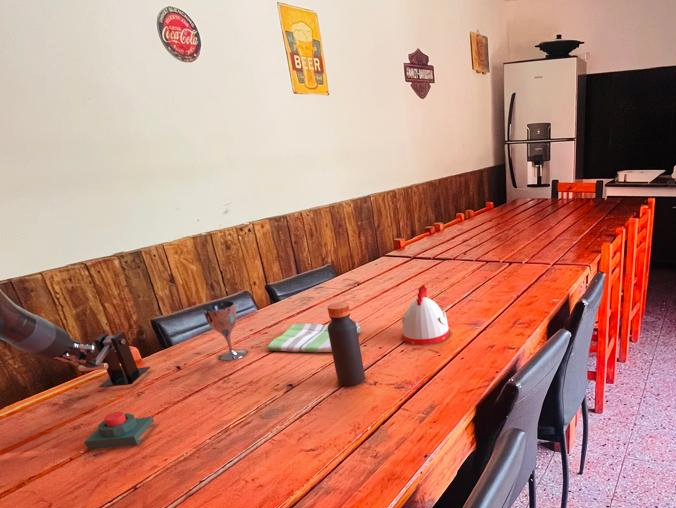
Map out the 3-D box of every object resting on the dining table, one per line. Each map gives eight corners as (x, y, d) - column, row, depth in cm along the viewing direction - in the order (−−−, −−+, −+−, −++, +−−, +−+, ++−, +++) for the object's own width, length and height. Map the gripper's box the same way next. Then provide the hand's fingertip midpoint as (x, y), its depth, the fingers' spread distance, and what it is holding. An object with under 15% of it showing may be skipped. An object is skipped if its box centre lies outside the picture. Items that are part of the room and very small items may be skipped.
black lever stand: (133, 387, 132) (114, 342, 126) (100, 390, 131) (80, 345, 126) (151, 370, 141) (135, 327, 135) (121, 373, 140) (103, 330, 135)
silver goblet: (252, 353, 148) (238, 304, 141) (224, 363, 143) (209, 312, 136) (240, 347, 153) (226, 299, 146) (213, 356, 148) (198, 307, 141)
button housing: (87, 450, 106) (80, 434, 105) (108, 429, 113) (102, 414, 112) (137, 445, 107) (131, 429, 105) (155, 425, 114) (149, 409, 112)
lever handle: (107, 371, 124) (102, 364, 123) (81, 373, 124) (76, 366, 122) (128, 341, 133) (123, 334, 132) (104, 344, 133) (99, 336, 131)
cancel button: (103, 428, 107) (100, 421, 106) (112, 419, 110) (109, 412, 109) (121, 426, 107) (118, 419, 106) (129, 417, 110) (127, 410, 110)
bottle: (351, 372, 133) (337, 299, 124) (371, 377, 130) (358, 302, 121) (332, 383, 128) (316, 308, 119) (352, 389, 125) (338, 312, 116)
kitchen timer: (453, 327, 158) (449, 280, 152) (442, 345, 146) (438, 294, 140) (410, 326, 161) (404, 280, 154) (396, 344, 149) (389, 294, 142)
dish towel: (340, 354, 144) (338, 342, 143) (266, 352, 148) (263, 341, 147) (363, 331, 159) (361, 320, 158) (295, 330, 163) (292, 319, 162)
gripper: (71, 316, 108) (122, 347, 125) (6, 322, 108) (66, 352, 124) (66, 349, 106) (119, 375, 122) (-1, 355, 105) (61, 381, 121)
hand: (92, 364), depth 123 cm, fingers closed
